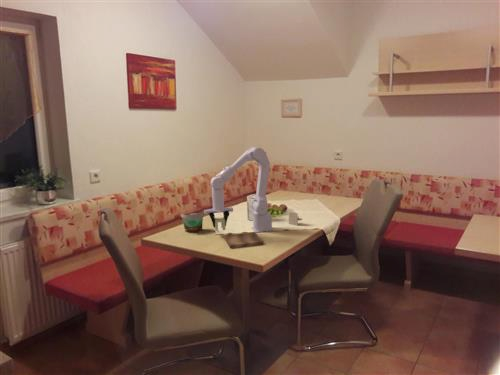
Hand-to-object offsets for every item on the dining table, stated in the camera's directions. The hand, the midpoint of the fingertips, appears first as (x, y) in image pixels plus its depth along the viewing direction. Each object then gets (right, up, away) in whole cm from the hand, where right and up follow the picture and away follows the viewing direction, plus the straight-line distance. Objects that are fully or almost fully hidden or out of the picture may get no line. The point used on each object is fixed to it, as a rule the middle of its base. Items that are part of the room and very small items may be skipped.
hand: (219, 226), depth 214 cm
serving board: (+12, -6, -10) cm, 17 cm away
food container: (-14, -4, +9) cm, 17 cm away
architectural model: (+40, -1, +14) cm, 42 cm away
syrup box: (+18, +1, +26) cm, 32 cm away
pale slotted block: (0, -1, 0) cm, 2 cm away
